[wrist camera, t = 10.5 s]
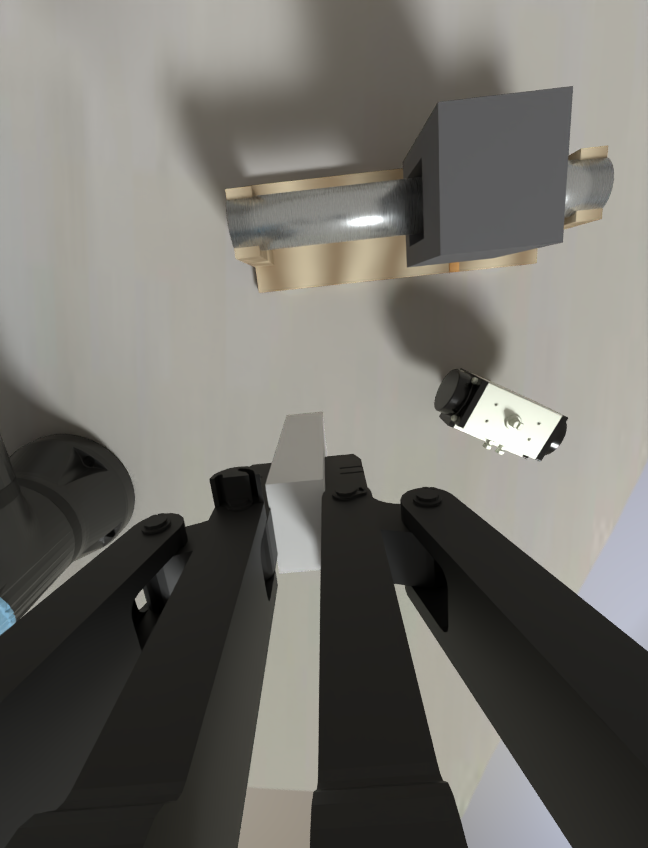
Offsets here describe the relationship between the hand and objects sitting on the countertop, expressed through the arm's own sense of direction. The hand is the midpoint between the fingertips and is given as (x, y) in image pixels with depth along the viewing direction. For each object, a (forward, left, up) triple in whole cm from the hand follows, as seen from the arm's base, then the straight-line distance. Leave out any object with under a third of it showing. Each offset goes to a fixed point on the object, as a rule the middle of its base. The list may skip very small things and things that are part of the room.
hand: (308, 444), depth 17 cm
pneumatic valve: (+17, -7, -31) cm, 36 cm away
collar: (+13, +12, -25) cm, 30 cm away
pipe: (+9, +12, -22) cm, 27 cm away
